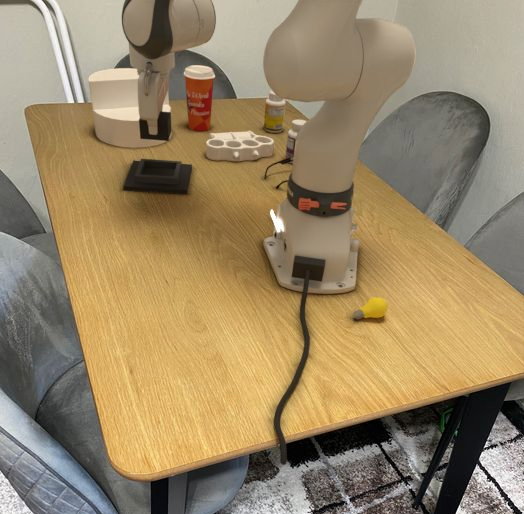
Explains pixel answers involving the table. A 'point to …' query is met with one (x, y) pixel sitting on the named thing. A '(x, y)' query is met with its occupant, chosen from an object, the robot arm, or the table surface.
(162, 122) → the black block
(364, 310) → the light bulb
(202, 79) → the coffee cup
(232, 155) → the white brass knuckles
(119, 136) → the container
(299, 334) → the table surface
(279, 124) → the supplement bottle
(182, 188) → the base pad
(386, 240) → the table surface
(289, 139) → the pill bottle
